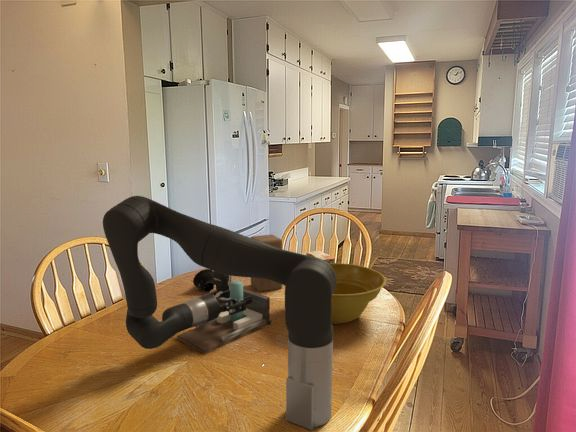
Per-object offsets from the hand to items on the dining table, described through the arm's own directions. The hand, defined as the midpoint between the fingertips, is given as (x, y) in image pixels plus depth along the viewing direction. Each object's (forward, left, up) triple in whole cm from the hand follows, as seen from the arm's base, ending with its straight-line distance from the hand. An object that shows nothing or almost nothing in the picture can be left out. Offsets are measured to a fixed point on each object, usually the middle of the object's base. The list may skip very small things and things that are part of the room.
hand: (241, 295), depth 133 cm
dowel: (-2, 0, -8) cm, 9 cm away
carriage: (-1, 0, -8) cm, 8 cm away
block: (+33, +14, -10) cm, 37 cm away
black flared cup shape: (+21, +34, -10) cm, 42 cm away
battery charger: (+12, +19, -10) cm, 24 cm away
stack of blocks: (+50, +1, -10) cm, 51 cm away
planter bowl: (+22, -21, -10) cm, 32 cm away
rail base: (-6, +1, -9) cm, 11 cm away
